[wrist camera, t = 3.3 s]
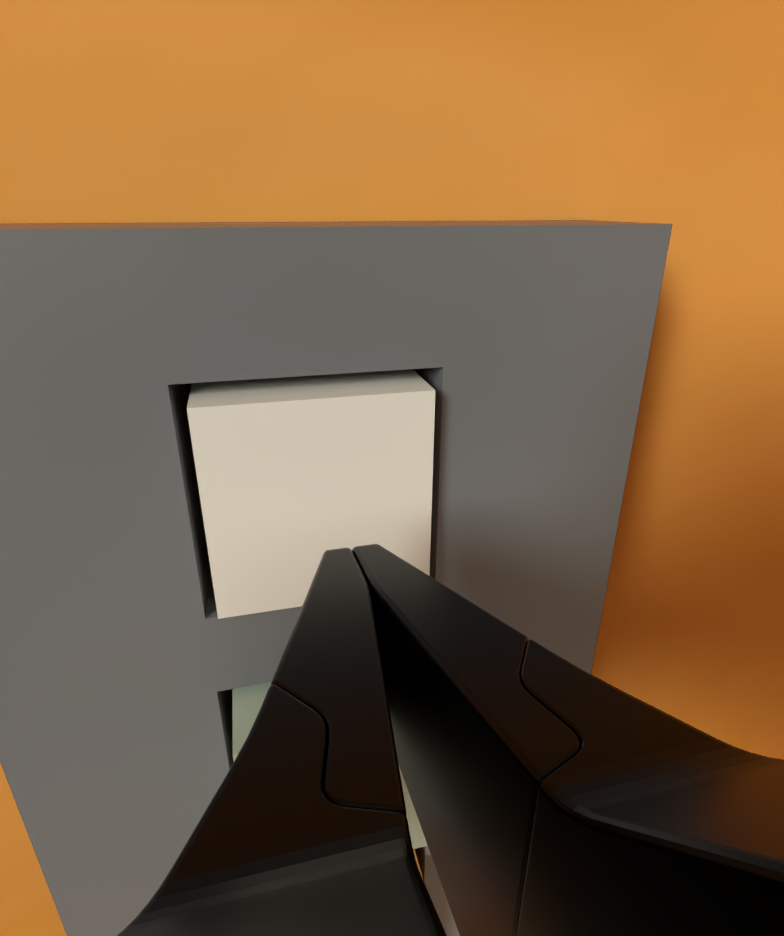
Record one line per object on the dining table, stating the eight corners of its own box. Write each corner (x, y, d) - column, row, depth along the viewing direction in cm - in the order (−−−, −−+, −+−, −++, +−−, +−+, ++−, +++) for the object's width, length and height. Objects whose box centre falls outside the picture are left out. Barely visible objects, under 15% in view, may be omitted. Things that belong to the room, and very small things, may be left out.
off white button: (220, 542, 14) (217, 619, 12) (195, 365, 13) (186, 408, 10) (394, 520, 15) (429, 587, 13) (395, 353, 14) (435, 390, 11)
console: (135, 965, 21) (121, 1077, 18) (-98, 223, 11) (-204, 230, 8) (506, 865, 24) (541, 949, 21) (587, 220, 14) (672, 224, 11)
